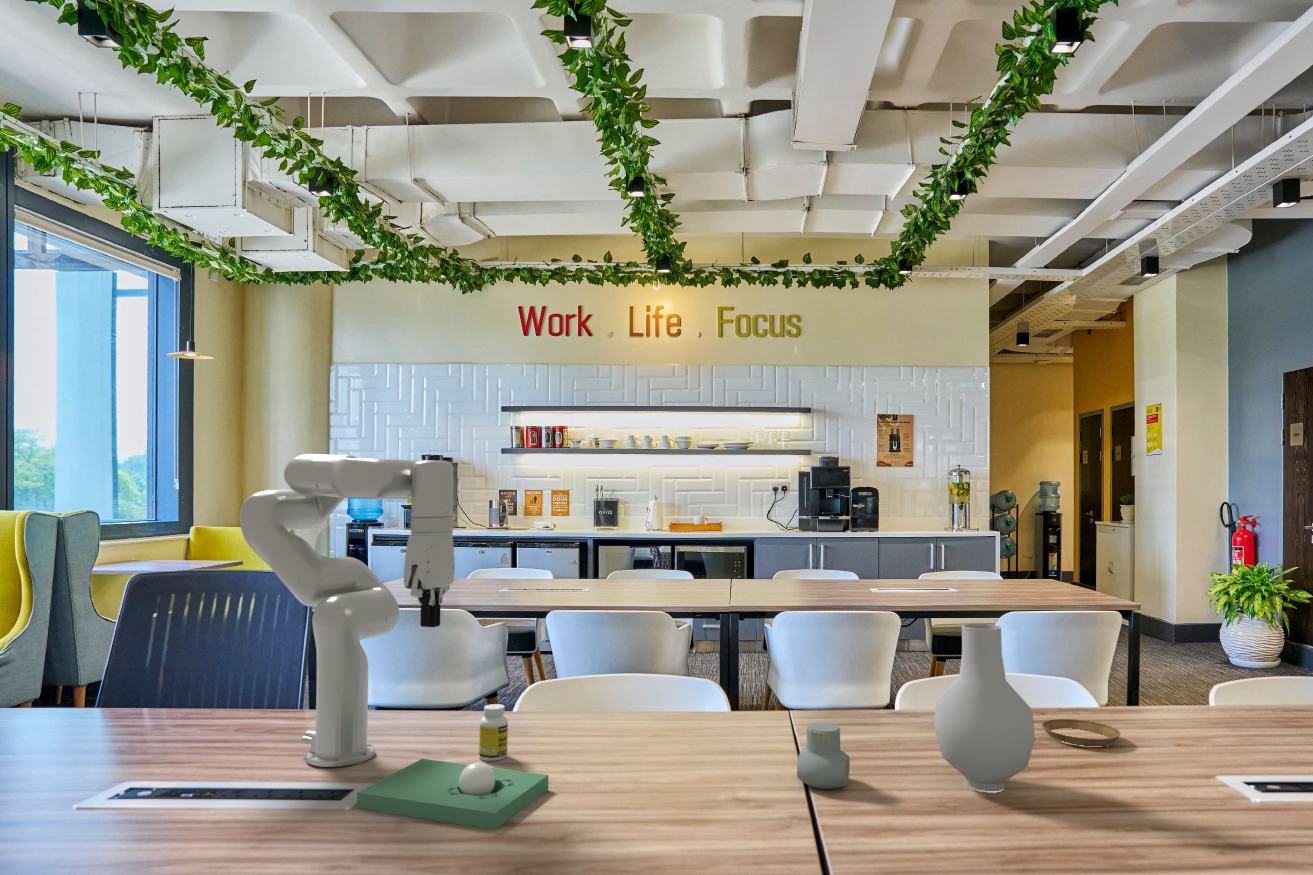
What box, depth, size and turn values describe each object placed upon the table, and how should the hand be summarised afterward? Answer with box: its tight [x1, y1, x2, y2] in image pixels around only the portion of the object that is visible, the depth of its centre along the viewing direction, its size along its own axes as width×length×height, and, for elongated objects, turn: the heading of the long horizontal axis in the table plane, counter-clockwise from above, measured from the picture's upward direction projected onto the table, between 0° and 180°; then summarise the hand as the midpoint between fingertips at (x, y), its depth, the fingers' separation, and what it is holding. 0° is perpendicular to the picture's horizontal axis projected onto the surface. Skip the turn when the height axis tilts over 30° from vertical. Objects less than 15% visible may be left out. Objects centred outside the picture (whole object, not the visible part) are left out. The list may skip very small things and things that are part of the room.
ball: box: [459, 762, 495, 796], centre depth 140 cm, size 6×6×6 cm
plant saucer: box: [1041, 718, 1122, 747], centre depth 174 cm, size 15×15×3 cm
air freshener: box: [796, 722, 851, 790], centre depth 149 cm, size 11×8×10 cm
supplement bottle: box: [478, 703, 509, 762], centre depth 163 cm, size 5×5×10 cm
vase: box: [934, 622, 1036, 791], centre depth 148 cm, size 17×16×28 cm
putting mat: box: [356, 758, 549, 831], centre depth 141 cm, size 26×18×2 cm
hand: (430, 625), depth 154 cm, fingers closed
